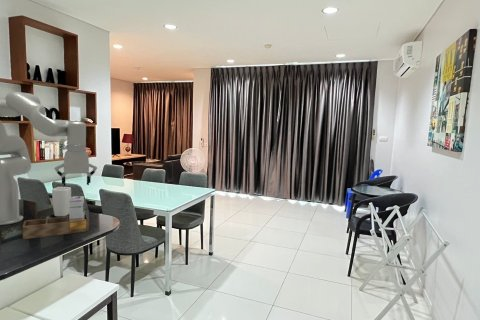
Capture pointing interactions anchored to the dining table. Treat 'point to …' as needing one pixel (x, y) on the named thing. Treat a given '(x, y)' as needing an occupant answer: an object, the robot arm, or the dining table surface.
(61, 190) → the cup
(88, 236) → the dining table surface
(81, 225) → the rack
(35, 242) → the dining table surface
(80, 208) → the syrup box
